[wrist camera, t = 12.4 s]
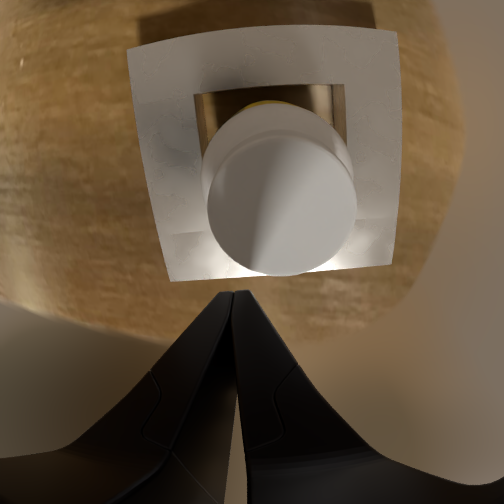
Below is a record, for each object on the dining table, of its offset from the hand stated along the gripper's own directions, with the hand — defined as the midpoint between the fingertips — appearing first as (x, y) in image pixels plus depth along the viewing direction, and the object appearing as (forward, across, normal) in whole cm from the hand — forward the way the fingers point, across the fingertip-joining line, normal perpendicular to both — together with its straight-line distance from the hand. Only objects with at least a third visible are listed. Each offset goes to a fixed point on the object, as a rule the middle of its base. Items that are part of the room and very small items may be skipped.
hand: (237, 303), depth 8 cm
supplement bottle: (+11, -2, -2) cm, 11 cm away
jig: (+10, -2, -2) cm, 11 cm away
